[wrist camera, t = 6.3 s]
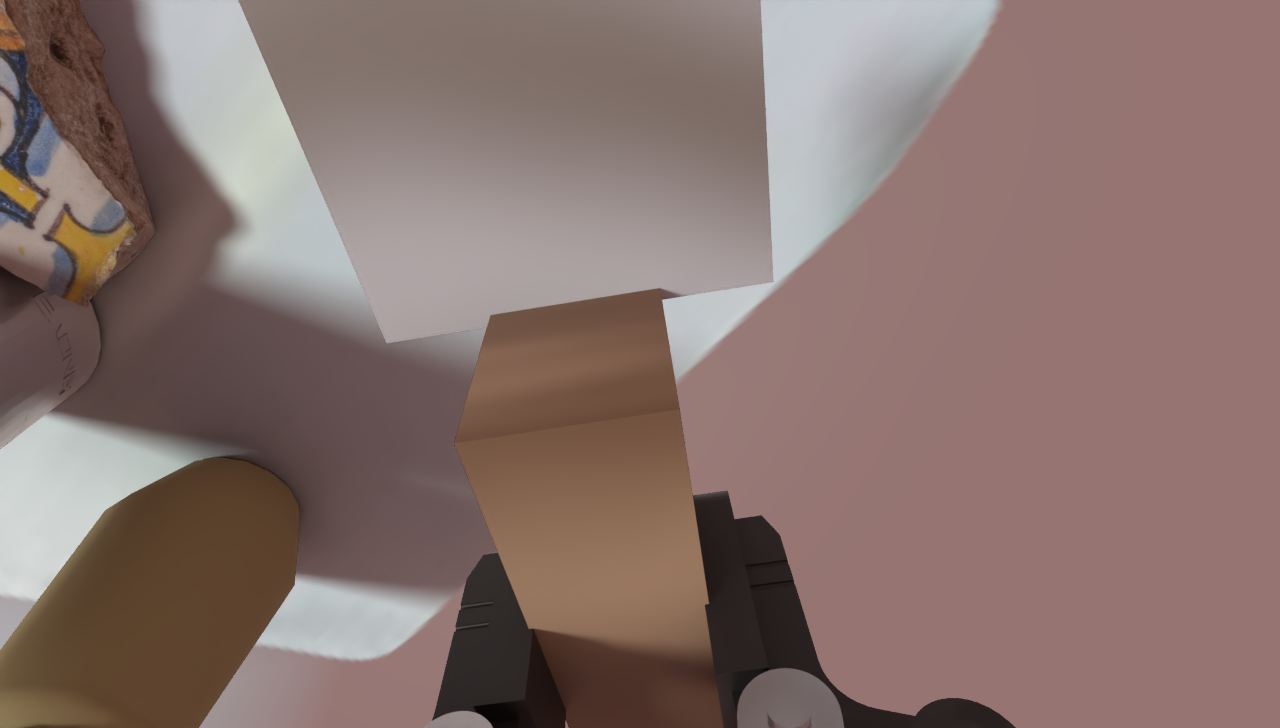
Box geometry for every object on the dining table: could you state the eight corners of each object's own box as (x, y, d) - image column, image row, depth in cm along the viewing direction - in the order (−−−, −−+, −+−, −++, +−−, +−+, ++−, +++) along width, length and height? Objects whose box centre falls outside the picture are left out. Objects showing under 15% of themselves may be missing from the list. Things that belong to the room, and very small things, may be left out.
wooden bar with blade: (786, 681, 17) (826, 843, 14) (556, 711, 17) (547, 877, 14) (737, -260, 7) (838, -397, 4) (197, -156, 7) (-82, -214, 4)
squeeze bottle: (266, 587, 35) (-10, 1078, 19) (114, 503, 32) (-368, 1010, 16) (359, 503, 32) (129, 989, 17) (204, 403, 29) (-261, 887, 13)
